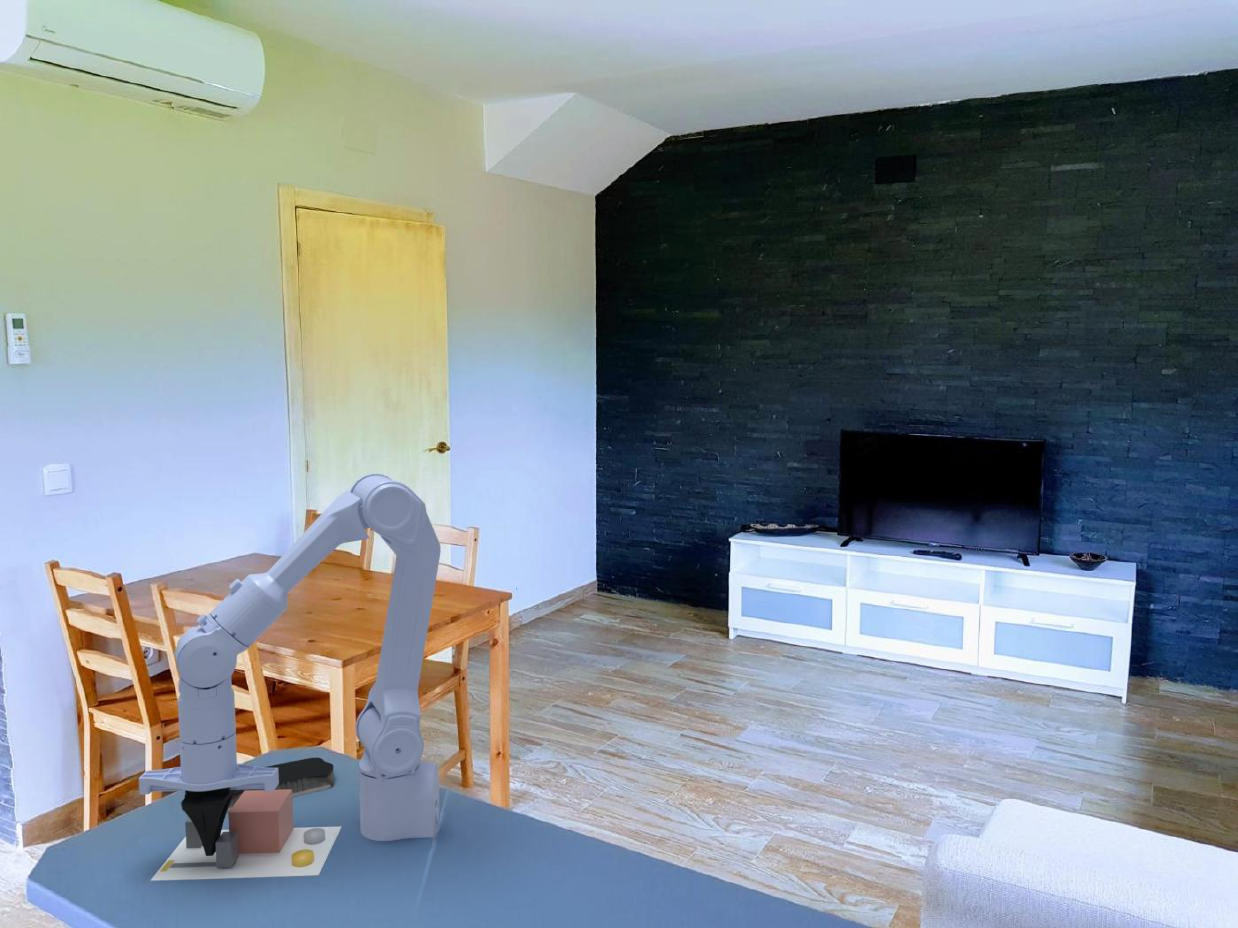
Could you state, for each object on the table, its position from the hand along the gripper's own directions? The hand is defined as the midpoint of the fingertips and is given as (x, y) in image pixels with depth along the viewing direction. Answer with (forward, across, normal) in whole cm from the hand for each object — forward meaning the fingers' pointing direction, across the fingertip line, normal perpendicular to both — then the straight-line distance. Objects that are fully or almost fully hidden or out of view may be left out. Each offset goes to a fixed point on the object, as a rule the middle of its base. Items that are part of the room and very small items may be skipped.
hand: (212, 851), depth 104 cm
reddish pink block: (+2, -4, -5) cm, 7 cm away
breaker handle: (+2, -2, 0) cm, 2 cm away
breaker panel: (+3, -3, -2) cm, 5 cm away
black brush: (+3, 0, -19) cm, 19 cm away
